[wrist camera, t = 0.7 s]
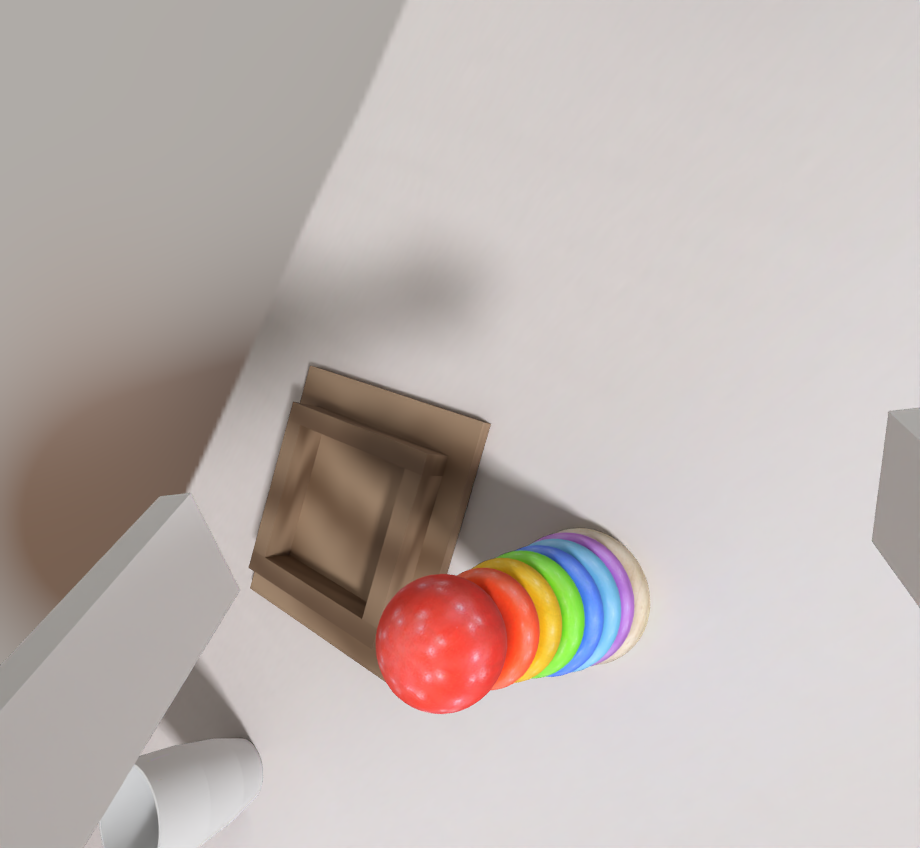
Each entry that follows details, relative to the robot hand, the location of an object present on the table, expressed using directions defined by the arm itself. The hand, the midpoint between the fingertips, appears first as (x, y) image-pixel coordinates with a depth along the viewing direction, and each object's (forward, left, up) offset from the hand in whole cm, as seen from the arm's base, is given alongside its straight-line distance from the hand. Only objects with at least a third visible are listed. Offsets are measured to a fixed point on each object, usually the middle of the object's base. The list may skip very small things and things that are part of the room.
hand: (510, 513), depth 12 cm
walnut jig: (+10, -25, -26) cm, 37 cm away
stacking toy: (+8, -6, -26) cm, 28 cm away
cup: (+35, -30, -26) cm, 53 cm away
